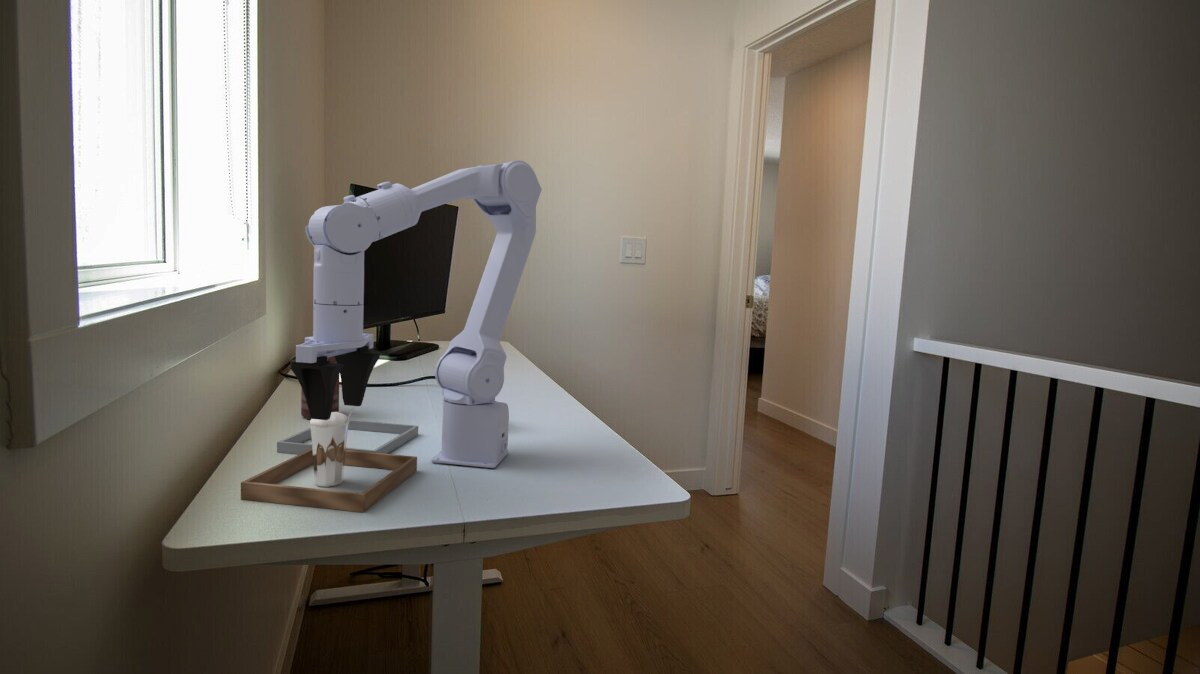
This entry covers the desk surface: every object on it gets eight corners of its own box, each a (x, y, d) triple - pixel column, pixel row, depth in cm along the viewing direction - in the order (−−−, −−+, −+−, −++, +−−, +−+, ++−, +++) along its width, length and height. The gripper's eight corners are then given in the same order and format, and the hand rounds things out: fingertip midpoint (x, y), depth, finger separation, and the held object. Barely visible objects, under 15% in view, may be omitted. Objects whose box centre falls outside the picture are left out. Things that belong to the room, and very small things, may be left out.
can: (313, 422, 106) (314, 342, 104) (294, 415, 109) (295, 338, 108) (346, 417, 110) (347, 340, 109) (327, 410, 114) (328, 336, 113)
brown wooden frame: (416, 470, 85) (417, 456, 85) (363, 512, 70) (363, 495, 70) (314, 460, 86) (314, 446, 86) (240, 499, 72) (240, 482, 71)
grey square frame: (418, 434, 102) (418, 425, 102) (375, 461, 88) (375, 451, 87) (332, 426, 104) (333, 418, 104) (276, 452, 89) (276, 442, 89)
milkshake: (341, 491, 76) (343, 412, 75) (301, 486, 76) (302, 408, 75) (360, 479, 80) (362, 404, 79) (322, 475, 81) (323, 400, 80)
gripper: (339, 299, 83) (338, 397, 85) (270, 304, 69) (270, 422, 70) (389, 302, 83) (386, 401, 84) (330, 308, 68) (328, 428, 70)
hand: (337, 411), depth 77 cm, fingers open, 7 cm apart
